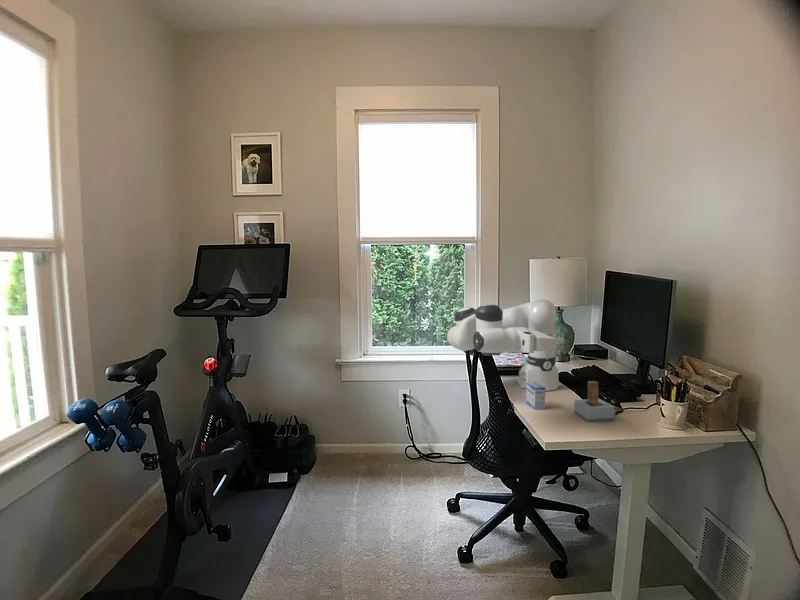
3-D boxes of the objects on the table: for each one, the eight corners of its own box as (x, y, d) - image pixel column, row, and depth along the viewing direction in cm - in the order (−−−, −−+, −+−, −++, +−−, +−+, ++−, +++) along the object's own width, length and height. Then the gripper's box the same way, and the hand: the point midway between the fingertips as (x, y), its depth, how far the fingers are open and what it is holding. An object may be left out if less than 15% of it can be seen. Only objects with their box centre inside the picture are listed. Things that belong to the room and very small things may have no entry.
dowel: (585, 412, 178) (586, 381, 177) (595, 412, 179) (595, 380, 177) (590, 416, 175) (590, 384, 173) (599, 415, 175) (600, 383, 174)
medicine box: (525, 403, 193) (525, 382, 193) (535, 402, 194) (536, 381, 193) (534, 409, 186) (535, 387, 185) (545, 408, 187) (545, 387, 186)
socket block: (574, 412, 181) (574, 400, 181) (598, 411, 183) (599, 398, 182) (588, 422, 172) (588, 408, 171) (614, 420, 173) (614, 406, 173)
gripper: (508, 342, 180) (543, 341, 182) (531, 354, 160) (570, 352, 162) (509, 326, 180) (544, 324, 182) (531, 335, 160) (570, 334, 162)
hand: (556, 338), depth 172 cm, fingers open, 8 cm apart
